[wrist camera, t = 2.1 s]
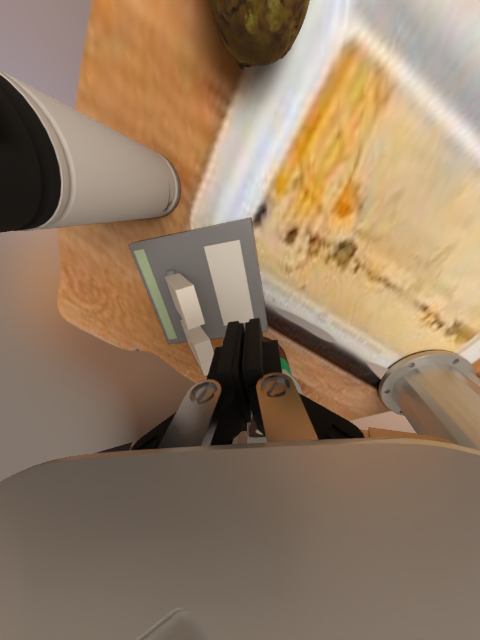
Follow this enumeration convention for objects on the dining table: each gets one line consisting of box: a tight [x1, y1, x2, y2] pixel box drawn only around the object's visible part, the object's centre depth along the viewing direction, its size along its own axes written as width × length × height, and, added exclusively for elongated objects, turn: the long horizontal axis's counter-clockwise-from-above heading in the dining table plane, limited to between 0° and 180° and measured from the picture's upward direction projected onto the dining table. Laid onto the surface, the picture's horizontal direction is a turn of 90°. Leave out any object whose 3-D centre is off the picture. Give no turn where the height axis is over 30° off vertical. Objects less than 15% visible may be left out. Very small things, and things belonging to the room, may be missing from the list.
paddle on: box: [165, 270, 205, 330], centre depth 23 cm, size 2×4×8 cm, turn 11°
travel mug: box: [0, 71, 181, 232], centre depth 16 cm, size 6×7×20 cm
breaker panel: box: [128, 218, 268, 344], centre depth 28 cm, size 14×14×3 cm
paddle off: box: [180, 319, 214, 376], centre depth 25 cm, size 2×4×8 cm, turn 11°
